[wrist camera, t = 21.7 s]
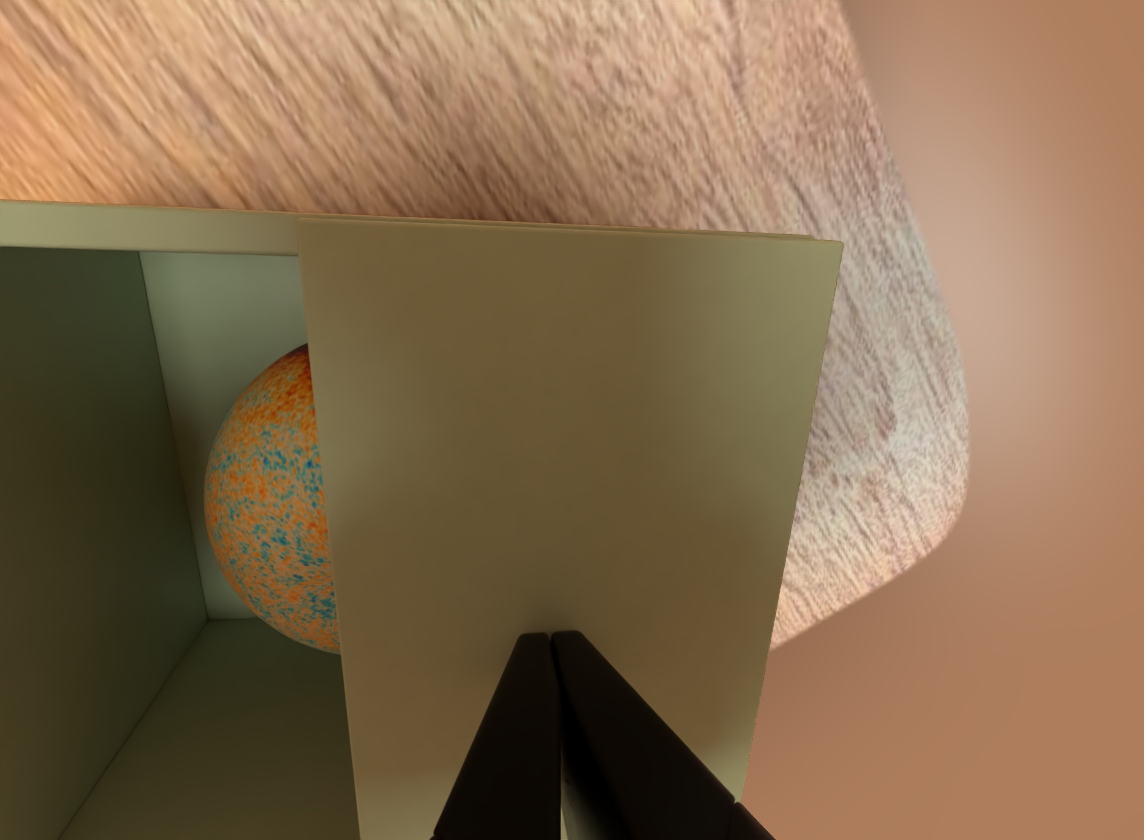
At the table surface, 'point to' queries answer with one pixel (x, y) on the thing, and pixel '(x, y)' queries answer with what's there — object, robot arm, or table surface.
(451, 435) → the flap
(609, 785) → the robot arm
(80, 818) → the carton
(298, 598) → the ball
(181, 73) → the table surface
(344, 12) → the table surface
